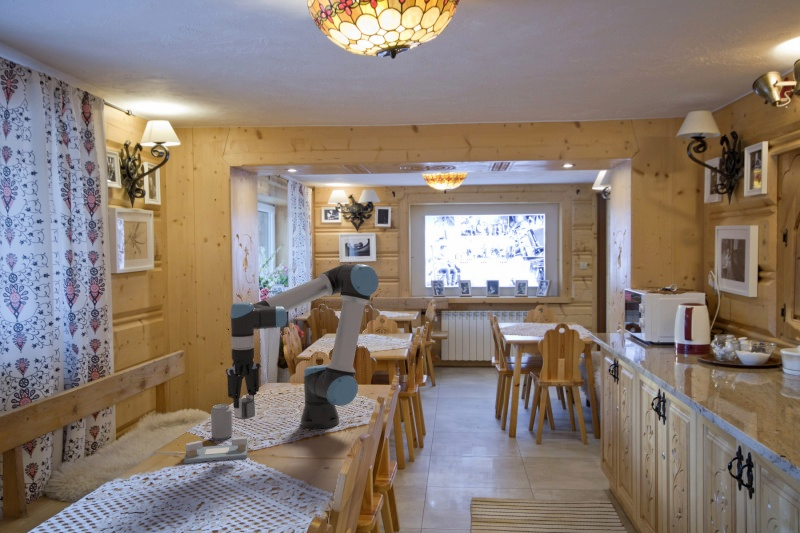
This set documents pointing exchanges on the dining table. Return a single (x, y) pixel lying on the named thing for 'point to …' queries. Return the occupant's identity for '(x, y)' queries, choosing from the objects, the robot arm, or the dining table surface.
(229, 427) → the can
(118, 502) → the dining table surface
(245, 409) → the stepped grey block
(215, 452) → the rig
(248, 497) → the dining table surface
